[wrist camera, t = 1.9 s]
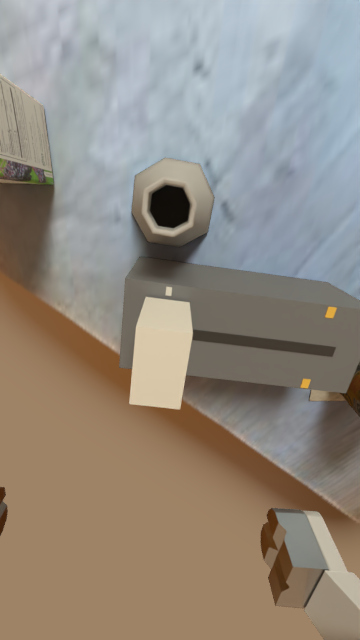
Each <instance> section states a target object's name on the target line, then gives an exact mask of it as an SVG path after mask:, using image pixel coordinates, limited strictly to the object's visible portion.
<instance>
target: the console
mask: <svg viewBox="0 0 360 640" xmlns="http://www.w3.org/2000/svg"><path fill="white" fill-rule="evenodd" d="M146 297H152V298H160V299H167V300H175V301H183V302H190V311H191V320H192V329H193V336H192V342H191V348H190V354H189V360H188V366H187V371H186V375H189V376H198V377H206V378H215V379H224V380H233V381H241V382H250V383H259V384H268V385H276V386H285V387H294V388H303V389H311V390H320V391H329V392H338V393H346V392H347V390H348V387H349V385H350V383H351V380H352V378H353V375H354V373H355V371H356V368H357V366H358V364H359V361H360V300H358V299H356V298H355V297H353V296H351V295H349V294H347V293H346V292H344V291H342V290H340V289H338V288H337V287H335V286H333V285H331V284H330V283H328V282H322V281H314V280H307V279H300V278H292V277H285V276H278V275H270V274H263V273H256V272H249V271H241V270H234V269H227V268H219V267H212V266H205V265H197V264H190V263H183V262H175V261H168V260H161V259H153V258H146V257H139V259H138V260H137V262H136V263H135V265H134V266H133V268H132V269H131V271H130V272H129V274H128V275H127V277H126V278H125V291H124V305H123V320H122V335H121V349H120V365H119V367H120V368H128V369H132V366H133V355H134V344H135V332H136V325H137V322H138V319H139V316H140V313H141V310H142V307H143V304H144V301H145V298H146Z"/></svg>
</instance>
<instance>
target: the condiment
mask: <svg viewBox="0 0 360 640" xmlns="http://www.w3.org/2000/svg"><path fill="white" fill-rule="evenodd" d="M309 401H347V402H348V403H349V405H350V406H351V407H352V408H353V409H354V410H355V412H356V413H357V414H358V415H359V416H360V361H359V364H358V366H357V368H356V371H355V373H354V375H353V378H352V380H351V383H350V385H349V387H348V390H347V392H346V393H338V392H329V391H320V390H311V395H310V400H309Z"/></svg>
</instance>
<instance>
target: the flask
mask: <svg viewBox="0 0 360 640" xmlns="http://www.w3.org/2000/svg"><path fill="white" fill-rule="evenodd" d="M214 198H215V197H214V195H213V193H212V190H211V188H210V186H209V184H208V181H207V179H206V177H205V175H204V172H203V170H202V168H201V165H200V164H198V163H192V162H187V161H181V160H176V159H171V158H164V159H162V160H160V161H159V162H157V163H155V164H154V165H152V166H150V167H149V168H147V169H145V170H144V171H142V172H140V173H139V174H137V175H135V180H134V191H133V201H132V214H133V216H134V217H135V219H136V221H137V223H138V225H139V226H140V228H141V230H142V232H143V234H144V236H145V237H146V239H147V241H148V242H151V243H158V244H164V245H170V246H176V247H181V246H183V245H184V244H186V243H188V242H190V241H192V240H194V239H196V238H198V237H199V236H201V235H203V234H205V233H207V232H208V229H209V224H210V219H211V214H212V208H213V203H214Z"/></svg>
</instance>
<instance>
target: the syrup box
mask: <svg viewBox="0 0 360 640" xmlns="http://www.w3.org/2000/svg"><path fill="white" fill-rule="evenodd" d="M0 183H13V184H50V185H53V183H54V182H53V174H52V167H51V159H50V151H49V144H48V136H47V129H46V122H45V115H44V107H43V105H42V104H41V103H40V102H38V101H37V100H36V99H34V98H33V97H31V96H30V95H28V94H27V93H26V92H24V91H23V90H22V89H20V88H19V87H18V86H16V85H15V84H14V83H12V82H11V81H9V80H8V79H7V78H5V77H4V76H2V75H1V74H0Z"/></svg>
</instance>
